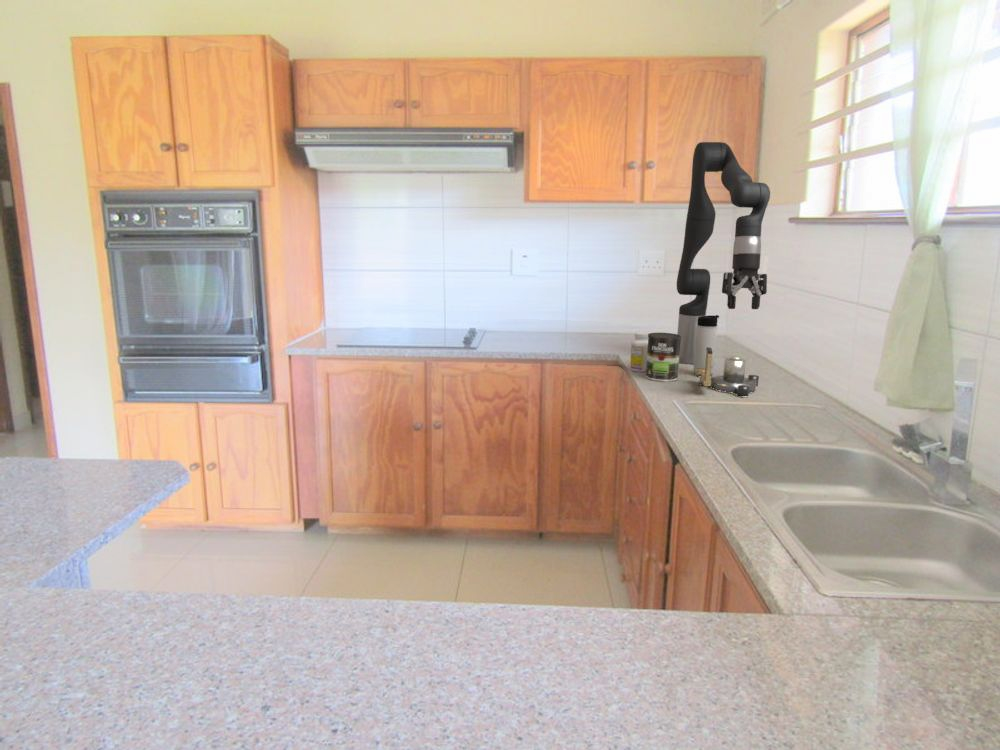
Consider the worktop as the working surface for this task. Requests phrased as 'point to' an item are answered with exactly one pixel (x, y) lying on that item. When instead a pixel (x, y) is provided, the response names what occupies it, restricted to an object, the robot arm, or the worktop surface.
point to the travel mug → (705, 341)
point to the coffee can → (663, 357)
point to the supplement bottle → (639, 352)
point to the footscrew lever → (706, 369)
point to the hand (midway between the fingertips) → (743, 309)
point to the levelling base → (731, 386)
